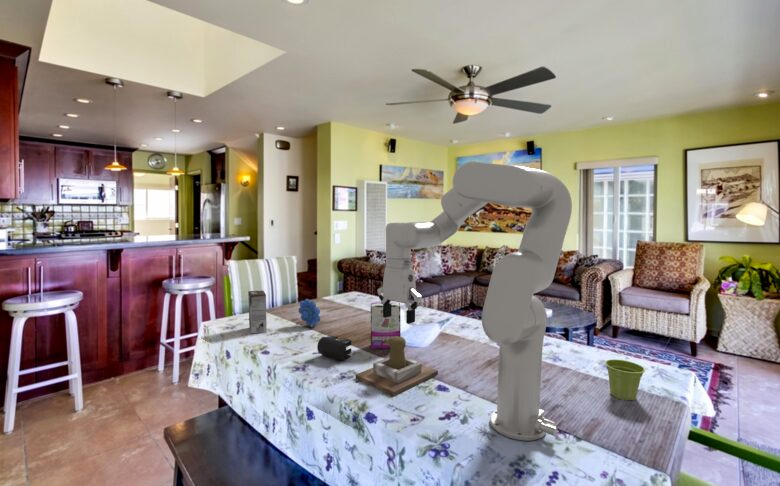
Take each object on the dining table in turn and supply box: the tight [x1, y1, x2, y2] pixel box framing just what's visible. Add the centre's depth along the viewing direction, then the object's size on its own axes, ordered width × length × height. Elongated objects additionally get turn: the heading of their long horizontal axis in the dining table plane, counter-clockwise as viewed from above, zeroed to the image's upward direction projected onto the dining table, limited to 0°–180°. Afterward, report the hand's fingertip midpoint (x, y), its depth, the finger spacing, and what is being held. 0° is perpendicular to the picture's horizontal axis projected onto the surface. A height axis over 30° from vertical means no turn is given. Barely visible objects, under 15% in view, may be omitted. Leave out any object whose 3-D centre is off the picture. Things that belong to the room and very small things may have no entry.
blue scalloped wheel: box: [297, 298, 322, 327], centre depth 168 cm, size 12×7×12 cm, turn 65°
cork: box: [388, 336, 407, 370], centre depth 117 cm, size 6×6×11 cm
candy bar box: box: [370, 302, 401, 350], centre depth 143 cm, size 11×5×16 cm, turn 92°
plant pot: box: [604, 359, 646, 401], centre depth 106 cm, size 9×9×9 cm
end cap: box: [316, 335, 352, 361], centre depth 133 cm, size 10×7×7 cm
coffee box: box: [248, 290, 267, 334], centre depth 163 cm, size 9×6×16 cm
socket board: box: [355, 356, 439, 397], centre depth 118 cm, size 16×20×4 cm
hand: (398, 319), depth 116 cm, fingers open, 9 cm apart
